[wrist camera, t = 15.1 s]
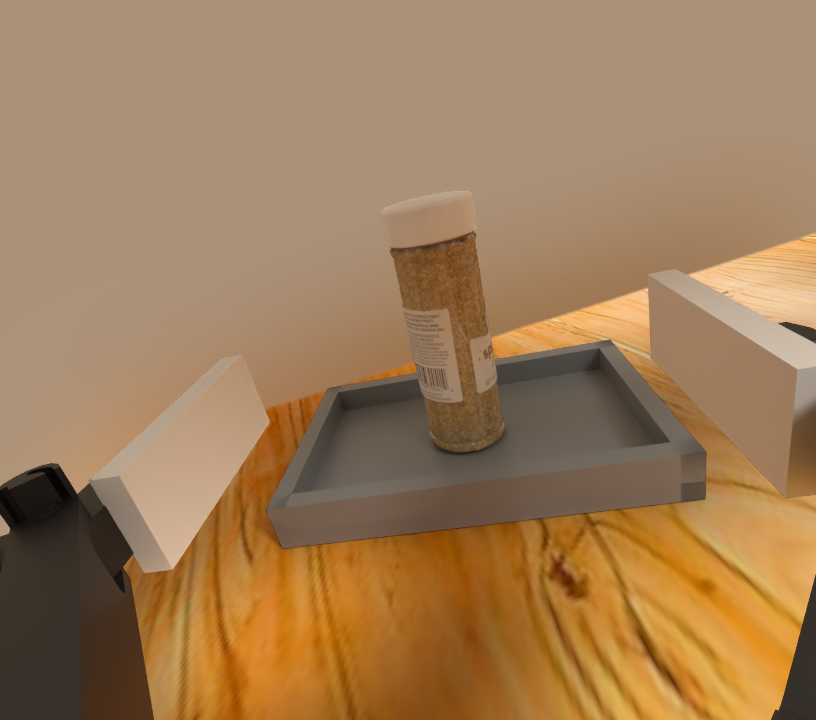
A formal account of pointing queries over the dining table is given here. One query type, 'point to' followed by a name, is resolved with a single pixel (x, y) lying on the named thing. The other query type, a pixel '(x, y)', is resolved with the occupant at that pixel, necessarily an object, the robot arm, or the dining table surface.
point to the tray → (488, 453)
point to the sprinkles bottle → (446, 317)
